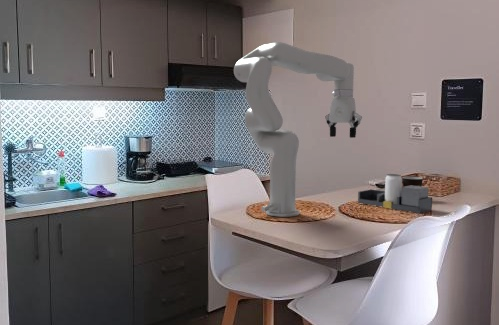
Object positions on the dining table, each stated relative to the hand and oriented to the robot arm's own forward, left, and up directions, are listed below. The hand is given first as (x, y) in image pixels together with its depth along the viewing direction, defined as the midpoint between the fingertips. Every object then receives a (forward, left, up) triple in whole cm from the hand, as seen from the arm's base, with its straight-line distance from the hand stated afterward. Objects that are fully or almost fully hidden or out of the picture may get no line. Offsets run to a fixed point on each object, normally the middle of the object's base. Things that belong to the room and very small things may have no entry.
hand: (342, 137), depth 202 cm
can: (+14, -16, -27) cm, 34 cm away
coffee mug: (+33, -12, -28) cm, 45 cm away
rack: (+14, -16, -28) cm, 35 cm away
